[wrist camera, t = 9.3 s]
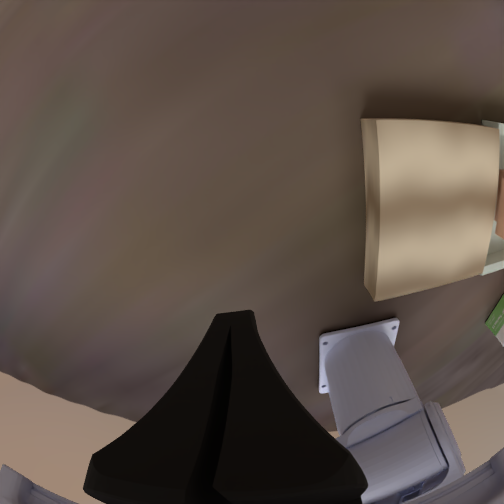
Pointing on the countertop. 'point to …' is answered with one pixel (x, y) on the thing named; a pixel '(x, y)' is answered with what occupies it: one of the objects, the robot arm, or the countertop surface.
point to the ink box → (497, 321)
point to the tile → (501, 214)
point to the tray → (499, 249)
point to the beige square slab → (427, 202)
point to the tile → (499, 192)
